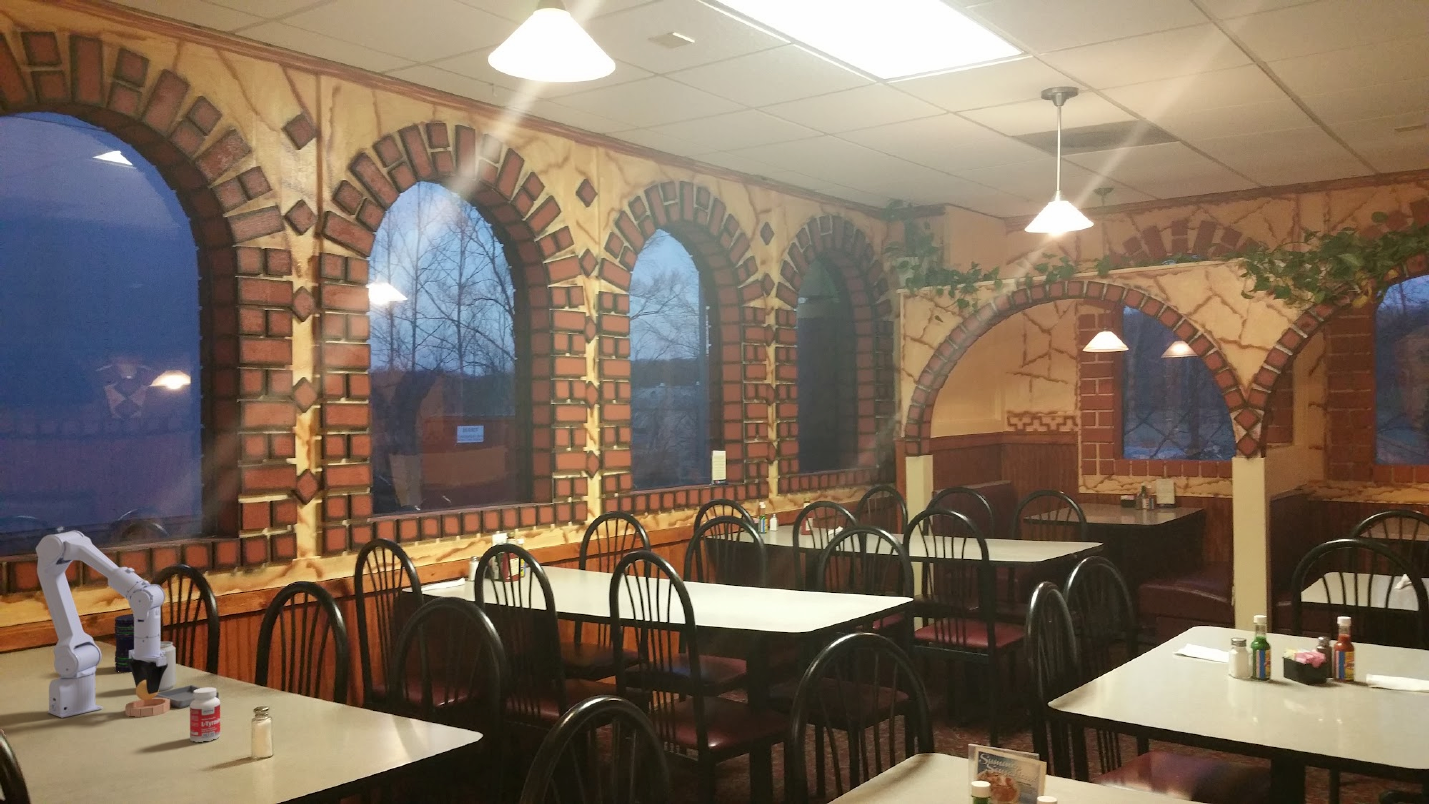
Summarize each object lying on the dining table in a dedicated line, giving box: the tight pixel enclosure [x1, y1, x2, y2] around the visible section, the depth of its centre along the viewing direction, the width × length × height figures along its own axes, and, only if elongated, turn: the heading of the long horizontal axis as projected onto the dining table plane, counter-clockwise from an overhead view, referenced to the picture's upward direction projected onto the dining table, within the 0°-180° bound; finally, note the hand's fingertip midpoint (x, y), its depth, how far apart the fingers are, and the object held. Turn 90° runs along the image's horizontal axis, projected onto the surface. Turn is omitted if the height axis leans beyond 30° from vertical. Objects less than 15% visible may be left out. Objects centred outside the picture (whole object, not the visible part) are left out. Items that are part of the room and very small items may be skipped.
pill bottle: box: [189, 686, 221, 743], centre depth 241 cm, size 6×6×11 cm
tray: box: [154, 684, 220, 710], centre depth 273 cm, size 10×13×2 cm
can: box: [158, 641, 177, 692], centre depth 285 cm, size 8×8×12 cm
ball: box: [135, 680, 160, 700], centre depth 263 cm, size 5×5×5 cm
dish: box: [124, 698, 171, 718], centre depth 263 cm, size 10×10×2 cm
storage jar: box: [114, 613, 134, 672], centre depth 306 cm, size 10×10×15 cm
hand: (147, 691), depth 263 cm, fingers closed on ball, 5 cm apart
